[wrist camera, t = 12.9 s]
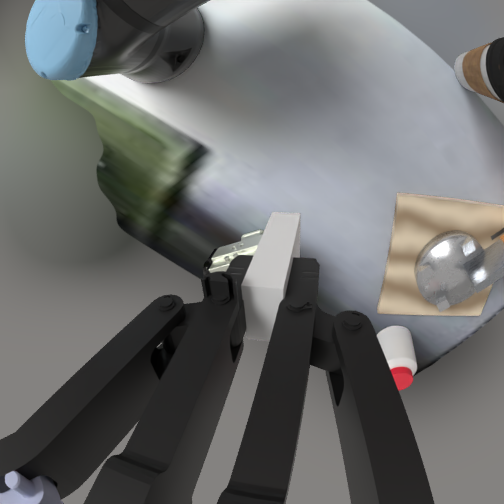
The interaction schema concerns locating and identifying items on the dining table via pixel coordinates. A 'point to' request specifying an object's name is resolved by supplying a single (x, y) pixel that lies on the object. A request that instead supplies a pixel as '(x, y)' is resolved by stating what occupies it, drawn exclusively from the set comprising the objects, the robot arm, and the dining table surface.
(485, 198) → the dining table surface
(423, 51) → the dining table surface
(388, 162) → the dining table surface
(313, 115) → the dining table surface
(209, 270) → the pneumatic valve
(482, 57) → the coffee cup
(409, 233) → the light wood square board
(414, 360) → the pill bottle
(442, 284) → the silver saucepan
